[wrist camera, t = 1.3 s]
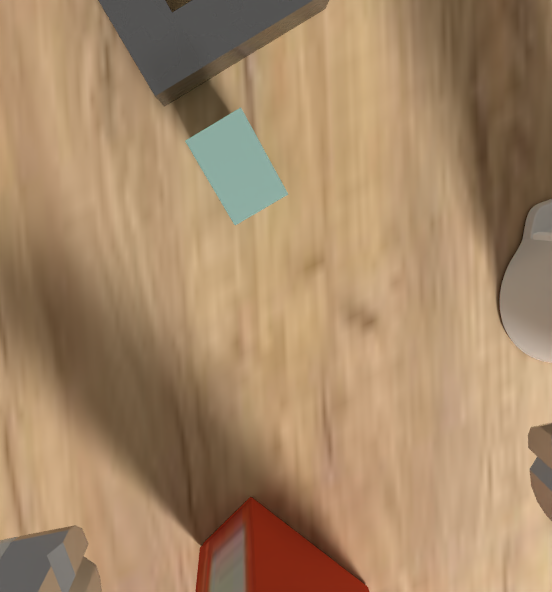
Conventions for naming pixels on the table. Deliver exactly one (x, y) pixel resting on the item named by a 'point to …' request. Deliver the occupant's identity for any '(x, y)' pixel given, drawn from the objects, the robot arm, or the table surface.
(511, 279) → the robot arm
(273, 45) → the table surface
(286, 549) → the file binder
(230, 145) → the sage green box
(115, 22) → the collar block
